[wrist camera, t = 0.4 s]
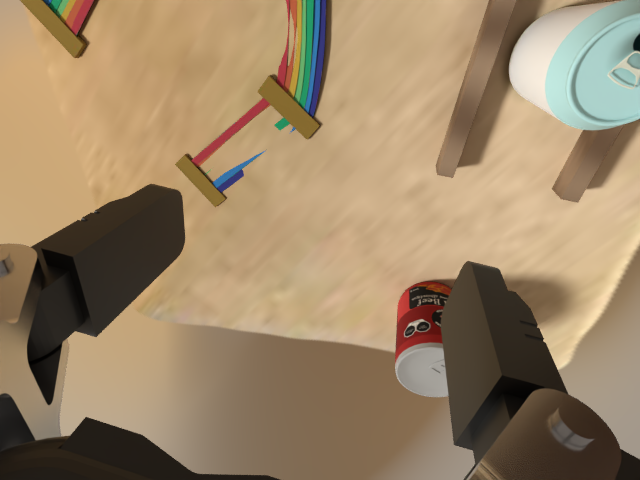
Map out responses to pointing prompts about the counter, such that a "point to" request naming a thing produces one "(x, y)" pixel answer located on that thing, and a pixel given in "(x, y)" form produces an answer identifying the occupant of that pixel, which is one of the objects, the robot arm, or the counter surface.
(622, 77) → the can
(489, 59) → the channel
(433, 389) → the canned food
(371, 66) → the counter surface
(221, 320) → the counter surface
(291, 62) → the ribbon cable
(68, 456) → the robot arm
